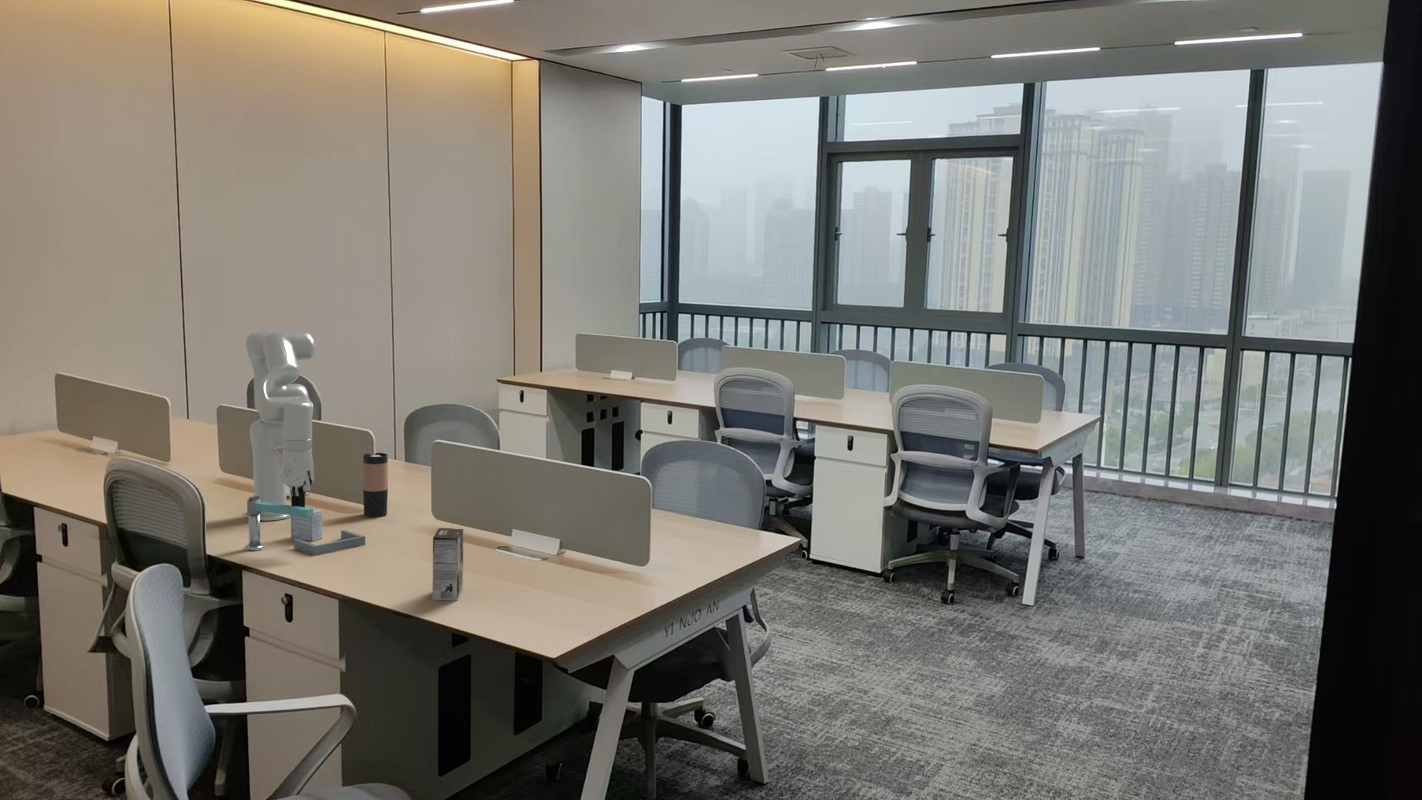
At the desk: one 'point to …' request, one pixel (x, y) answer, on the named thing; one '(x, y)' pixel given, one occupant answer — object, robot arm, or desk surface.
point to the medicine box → (307, 526)
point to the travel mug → (375, 484)
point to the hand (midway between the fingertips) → (298, 508)
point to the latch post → (254, 533)
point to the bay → (331, 544)
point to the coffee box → (447, 564)
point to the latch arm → (276, 508)
